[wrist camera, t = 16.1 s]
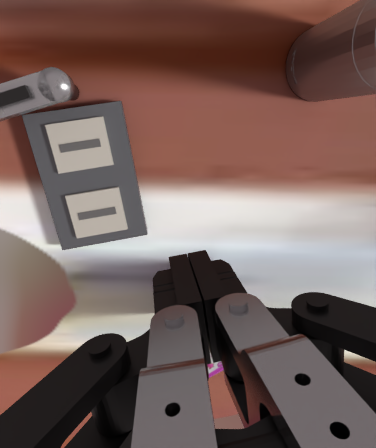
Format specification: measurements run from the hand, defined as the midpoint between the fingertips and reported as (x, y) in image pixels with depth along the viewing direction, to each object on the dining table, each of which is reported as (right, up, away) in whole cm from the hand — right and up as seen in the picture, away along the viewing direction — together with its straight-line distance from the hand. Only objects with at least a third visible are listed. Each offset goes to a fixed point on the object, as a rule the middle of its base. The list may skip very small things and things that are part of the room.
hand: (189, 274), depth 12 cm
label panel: (-13, +8, +30) cm, 34 cm away
